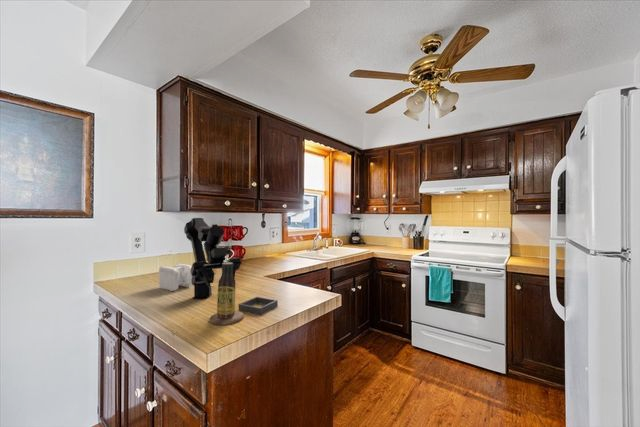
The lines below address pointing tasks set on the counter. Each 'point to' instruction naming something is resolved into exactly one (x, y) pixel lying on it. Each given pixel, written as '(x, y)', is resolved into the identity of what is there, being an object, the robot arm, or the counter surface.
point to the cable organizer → (175, 276)
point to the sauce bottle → (226, 292)
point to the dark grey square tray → (249, 308)
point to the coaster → (236, 318)
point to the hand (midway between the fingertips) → (221, 284)
